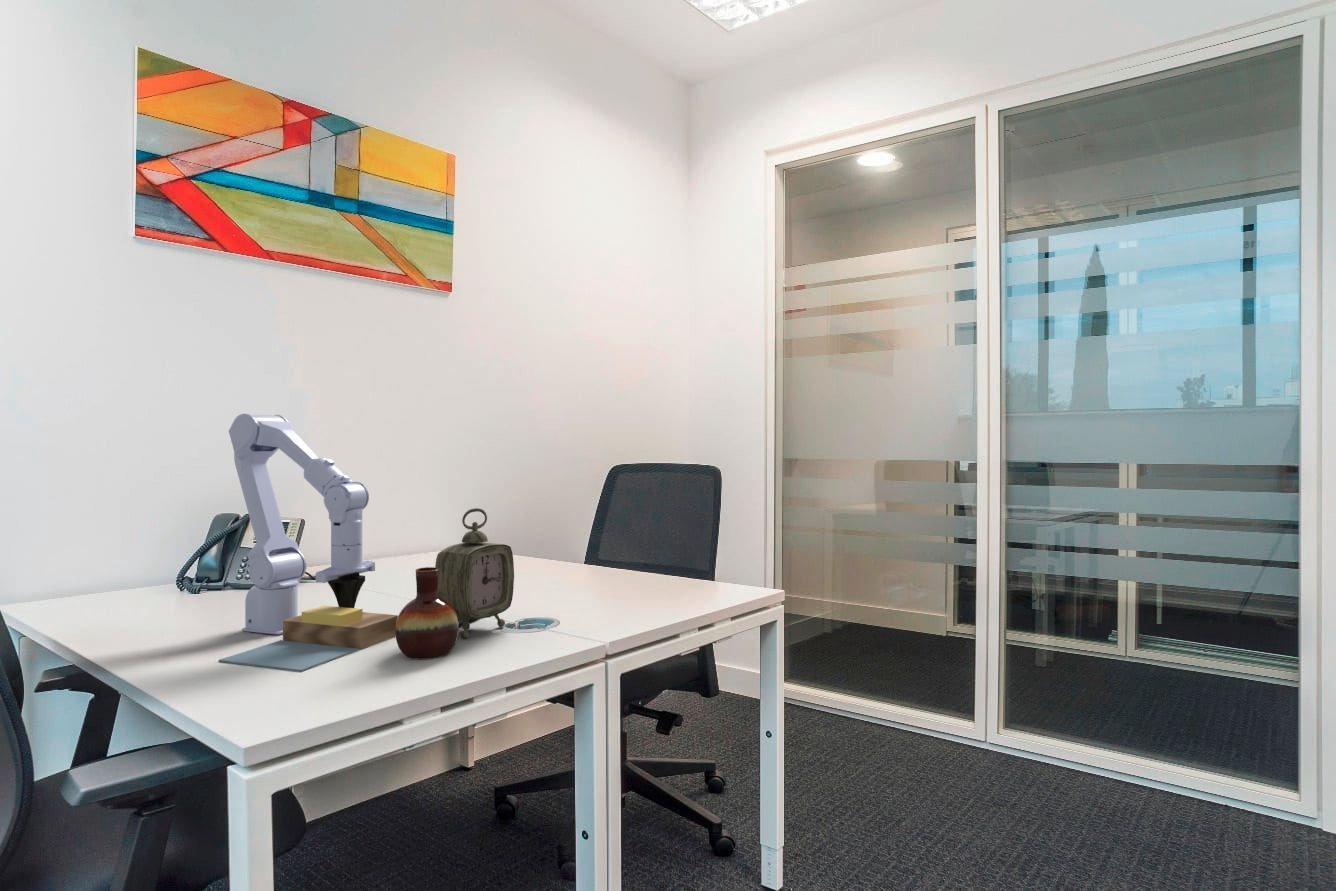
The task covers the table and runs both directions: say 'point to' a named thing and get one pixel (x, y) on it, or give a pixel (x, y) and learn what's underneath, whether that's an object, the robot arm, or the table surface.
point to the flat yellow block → (332, 615)
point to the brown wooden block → (342, 631)
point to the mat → (289, 655)
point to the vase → (426, 620)
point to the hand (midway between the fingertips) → (346, 613)
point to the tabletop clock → (476, 576)
